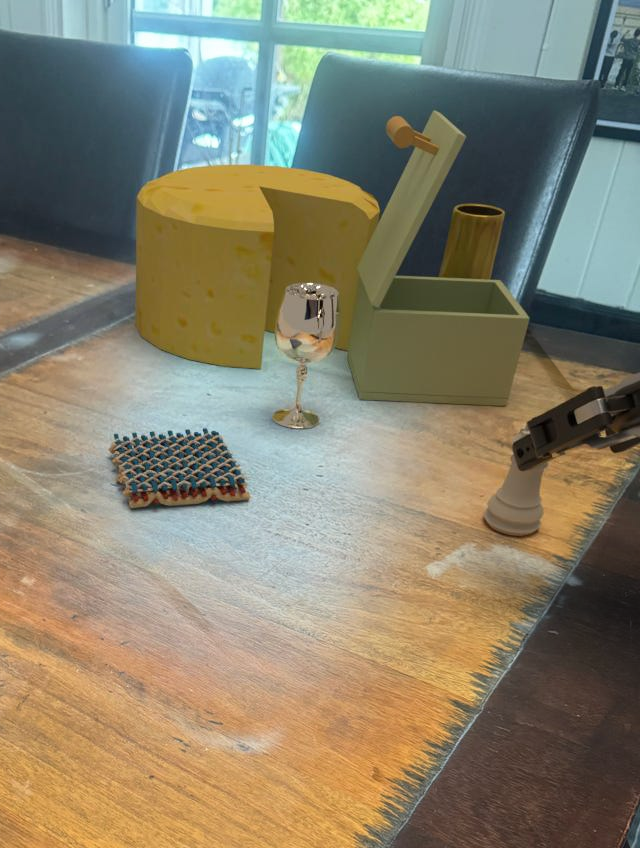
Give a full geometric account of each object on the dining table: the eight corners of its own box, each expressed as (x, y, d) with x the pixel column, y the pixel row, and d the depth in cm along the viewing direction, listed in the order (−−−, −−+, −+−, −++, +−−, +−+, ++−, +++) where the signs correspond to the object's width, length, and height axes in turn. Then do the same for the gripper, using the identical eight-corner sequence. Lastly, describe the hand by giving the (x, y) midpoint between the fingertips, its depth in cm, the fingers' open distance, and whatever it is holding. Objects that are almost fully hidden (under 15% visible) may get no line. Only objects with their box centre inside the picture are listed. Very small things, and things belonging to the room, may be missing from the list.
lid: (440, 113, 89) (393, 91, 88) (466, 136, 79) (414, 112, 78) (363, 270, 98) (319, 252, 97) (378, 308, 88) (330, 288, 88)
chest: (480, 362, 103) (500, 279, 98) (506, 406, 94) (530, 318, 88) (346, 356, 103) (359, 273, 98) (359, 399, 94) (374, 311, 89)
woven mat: (126, 513, 75) (126, 491, 74) (106, 453, 83) (106, 432, 82) (252, 504, 77) (254, 482, 76) (220, 446, 85) (222, 425, 84)
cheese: (345, 382, 97) (369, 229, 88) (105, 350, 102) (104, 202, 93) (370, 304, 117) (392, 172, 108) (168, 280, 122) (173, 153, 113)
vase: (444, 330, 110) (472, 199, 102) (488, 346, 107) (521, 212, 98) (411, 341, 107) (437, 207, 99) (455, 358, 104) (487, 220, 95)
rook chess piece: (548, 523, 76) (578, 431, 71) (524, 544, 73) (554, 450, 68) (497, 503, 78) (522, 413, 73) (472, 523, 75) (496, 431, 70)
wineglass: (319, 436, 87) (338, 305, 80) (259, 425, 89) (272, 296, 81) (331, 411, 92) (350, 285, 84) (273, 402, 93) (287, 277, 86)
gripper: (833, 276, 56) (625, 387, 71) (651, 300, 51) (471, 413, 66) (872, 396, 55) (654, 482, 70) (691, 431, 51) (500, 514, 66)
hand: (565, 448), depth 68 cm, fingers open, 8 cm apart
